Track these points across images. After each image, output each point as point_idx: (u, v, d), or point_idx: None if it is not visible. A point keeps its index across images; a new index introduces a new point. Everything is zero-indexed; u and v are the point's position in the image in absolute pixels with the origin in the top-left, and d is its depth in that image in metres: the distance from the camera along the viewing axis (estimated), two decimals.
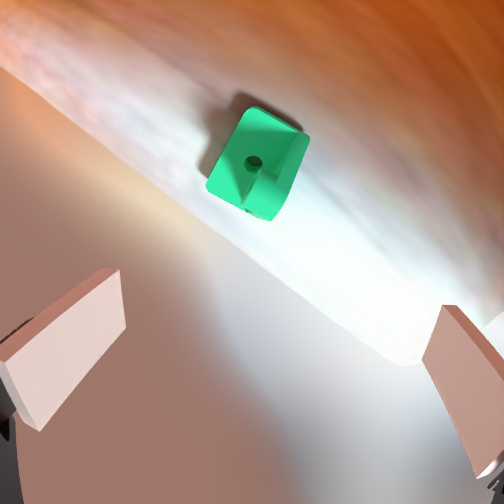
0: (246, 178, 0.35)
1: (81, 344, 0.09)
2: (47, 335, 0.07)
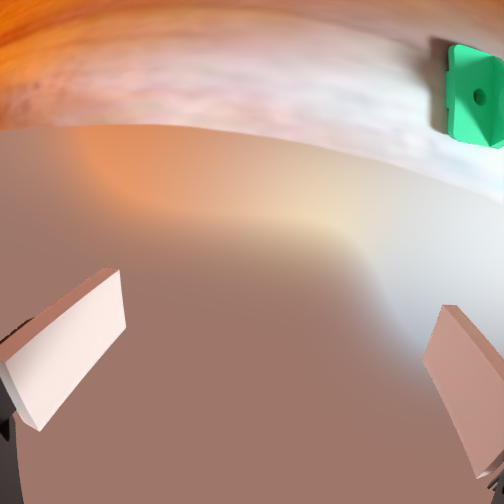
0: (480, 113, 0.24)
1: (81, 344, 0.09)
2: (47, 335, 0.07)
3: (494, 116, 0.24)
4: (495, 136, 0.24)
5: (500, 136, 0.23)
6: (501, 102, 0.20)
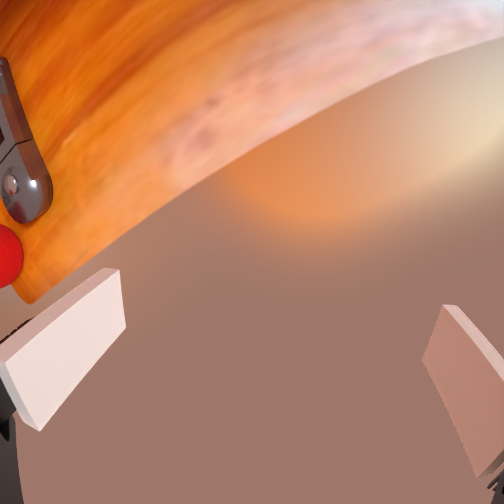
0: None
1: (81, 344, 0.09)
2: (47, 335, 0.07)
3: None
4: None
5: None
6: None
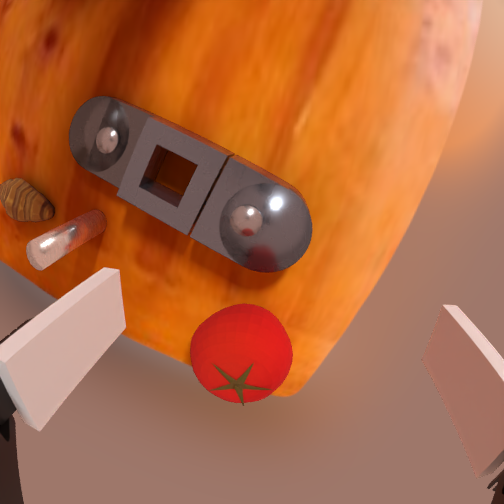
0: None
1: (81, 344, 0.09)
2: (47, 335, 0.07)
3: None
4: None
5: None
6: None
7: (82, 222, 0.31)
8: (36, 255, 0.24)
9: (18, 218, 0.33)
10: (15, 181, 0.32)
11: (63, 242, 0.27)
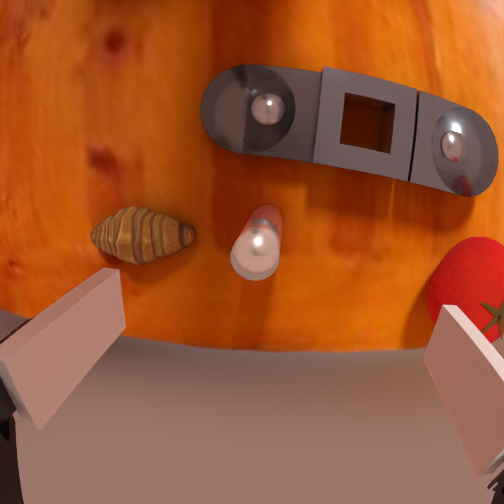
0: None
1: (81, 344, 0.09)
2: (47, 335, 0.07)
3: None
4: None
5: None
6: None
7: (270, 213, 0.26)
8: (255, 257, 0.20)
9: (144, 257, 0.30)
10: (123, 212, 0.30)
11: (276, 233, 0.22)
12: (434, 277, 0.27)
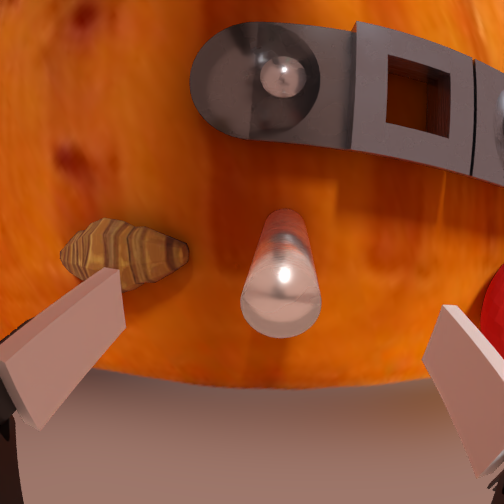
0: None
1: (81, 344, 0.09)
2: (47, 335, 0.07)
3: None
4: None
5: None
6: None
7: (293, 223, 0.18)
8: (282, 303, 0.12)
9: (123, 285, 0.22)
10: (93, 226, 0.22)
11: (310, 257, 0.14)
12: (491, 295, 0.19)
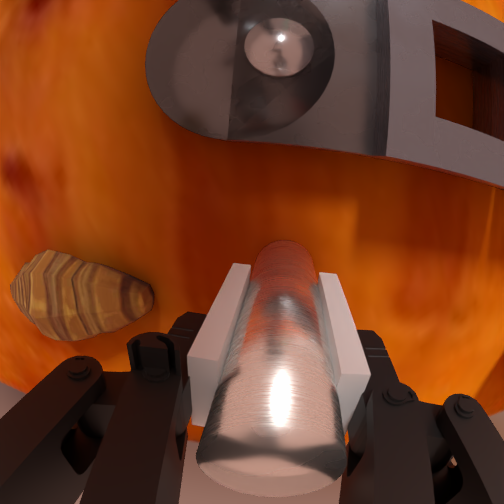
0: None
1: None
2: (231, 328, 0.09)
3: None
4: None
5: None
6: None
7: (297, 272, 0.12)
8: (273, 468, 0.05)
9: (73, 337, 0.16)
10: (36, 260, 0.16)
11: (328, 355, 0.08)
12: None
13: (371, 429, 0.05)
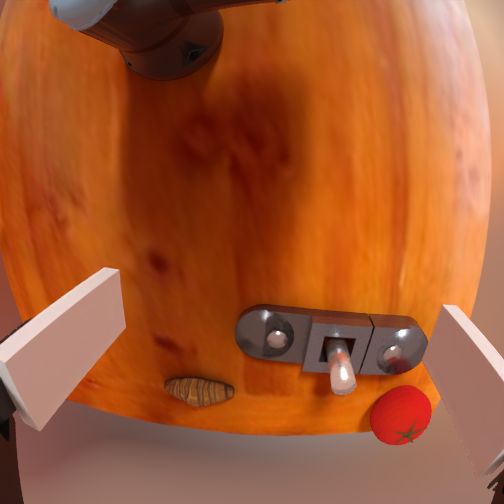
0: None
1: (81, 344, 0.09)
2: (47, 335, 0.07)
3: None
4: None
5: None
6: None
7: (342, 343, 0.41)
8: (344, 386, 0.34)
9: (205, 405, 0.49)
10: (188, 382, 0.49)
11: (351, 366, 0.37)
12: (373, 409, 0.46)
13: None
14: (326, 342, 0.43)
